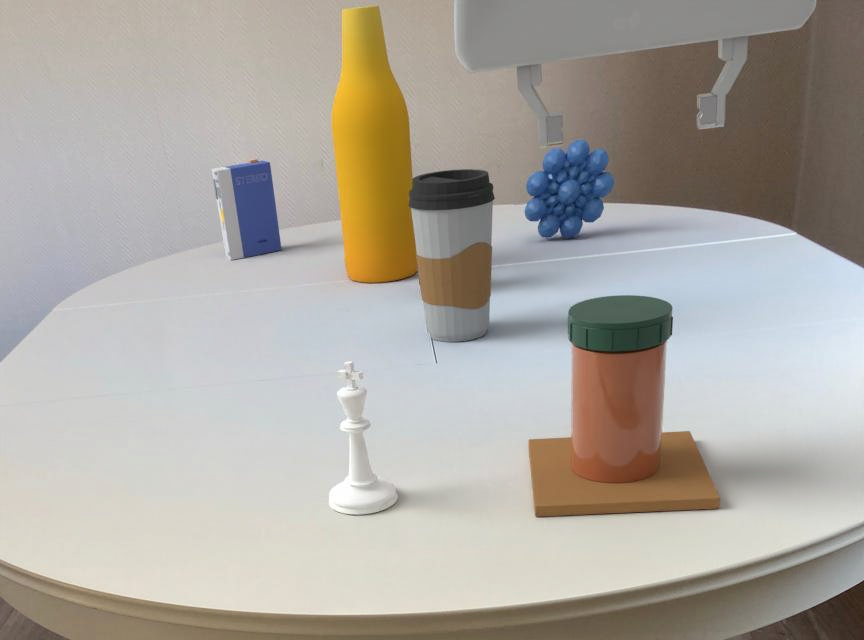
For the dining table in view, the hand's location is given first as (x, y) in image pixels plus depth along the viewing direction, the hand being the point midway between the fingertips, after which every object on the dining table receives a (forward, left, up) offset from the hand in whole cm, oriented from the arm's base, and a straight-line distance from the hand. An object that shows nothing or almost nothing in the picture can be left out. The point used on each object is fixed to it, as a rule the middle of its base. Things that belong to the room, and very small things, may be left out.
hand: (629, 137), depth 64 cm
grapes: (-2, -79, -22) cm, 82 cm away
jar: (0, +1, -21) cm, 21 cm away
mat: (0, +1, -22) cm, 22 cm away
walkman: (+42, -83, -22) cm, 96 cm away
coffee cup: (+12, -37, -22) cm, 45 cm away
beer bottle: (+22, -65, -22) cm, 72 cm away
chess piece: (+18, +3, -22) cm, 29 cm away
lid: (0, +1, -11) cm, 11 cm away
